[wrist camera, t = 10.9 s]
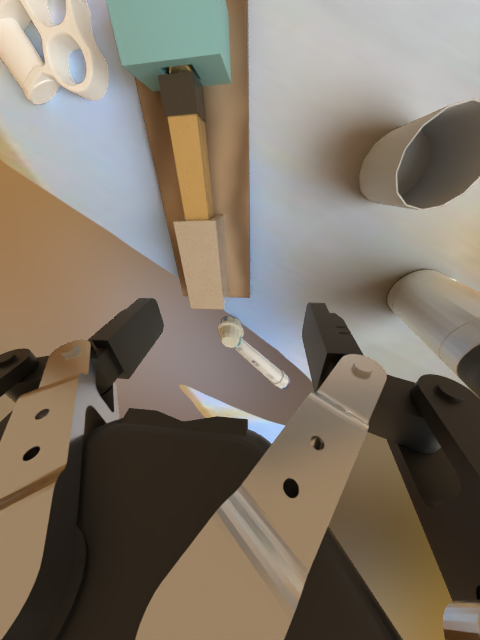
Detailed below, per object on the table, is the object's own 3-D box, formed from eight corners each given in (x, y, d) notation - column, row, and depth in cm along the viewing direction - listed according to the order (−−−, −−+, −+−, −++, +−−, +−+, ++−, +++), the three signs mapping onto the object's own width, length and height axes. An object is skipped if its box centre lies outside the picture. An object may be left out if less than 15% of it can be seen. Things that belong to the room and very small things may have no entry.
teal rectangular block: (228, 12, 21) (214, -48, 15) (231, 83, 24) (220, 53, 18) (140, 25, 22) (99, -26, 17) (153, 91, 25) (121, 65, 19)
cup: (346, 173, 28) (379, 168, 20) (406, 108, 24) (478, 69, 16) (380, 215, 31) (421, 226, 22) (439, 163, 26) (516, 153, 18)
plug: (197, 30, 21) (185, 2, 18) (218, 246, 33) (213, 252, 30) (163, 34, 21) (145, 8, 18) (196, 246, 33) (189, 252, 30)
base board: (247, -13, 21) (246, -26, 19) (250, 294, 41) (249, 297, 40) (125, 7, 22) (117, -3, 21) (185, 292, 43) (183, 296, 41)
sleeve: (224, 214, 32) (215, 220, 26) (229, 292, 40) (224, 309, 34) (188, 215, 32) (173, 221, 27) (201, 292, 40) (191, 308, 35)
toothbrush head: (276, 392, 53) (209, 343, 40) (273, 371, 58) (214, 321, 45) (293, 386, 50) (228, 331, 38) (289, 365, 55) (230, 310, 43)
